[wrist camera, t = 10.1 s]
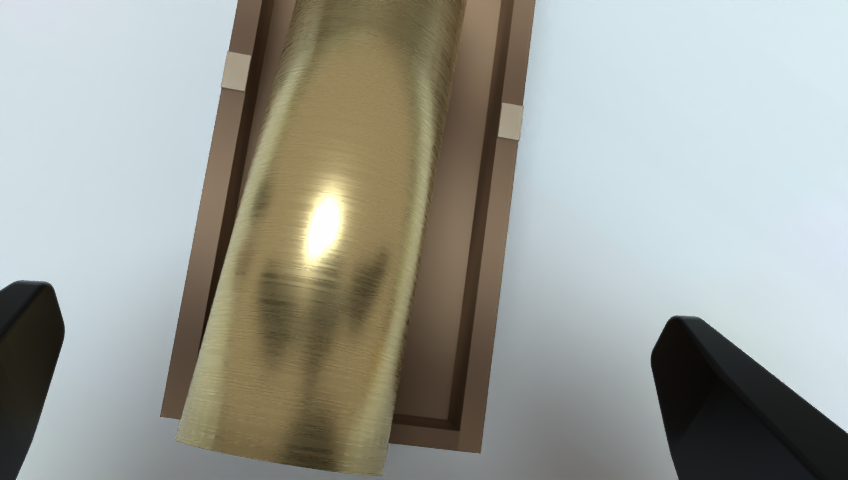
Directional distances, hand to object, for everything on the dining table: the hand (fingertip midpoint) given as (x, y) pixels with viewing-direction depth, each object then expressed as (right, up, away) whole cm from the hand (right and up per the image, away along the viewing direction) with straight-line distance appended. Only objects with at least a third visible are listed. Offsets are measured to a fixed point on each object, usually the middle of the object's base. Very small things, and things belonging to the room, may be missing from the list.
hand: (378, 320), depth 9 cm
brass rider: (0, +7, +5) cm, 8 cm away
